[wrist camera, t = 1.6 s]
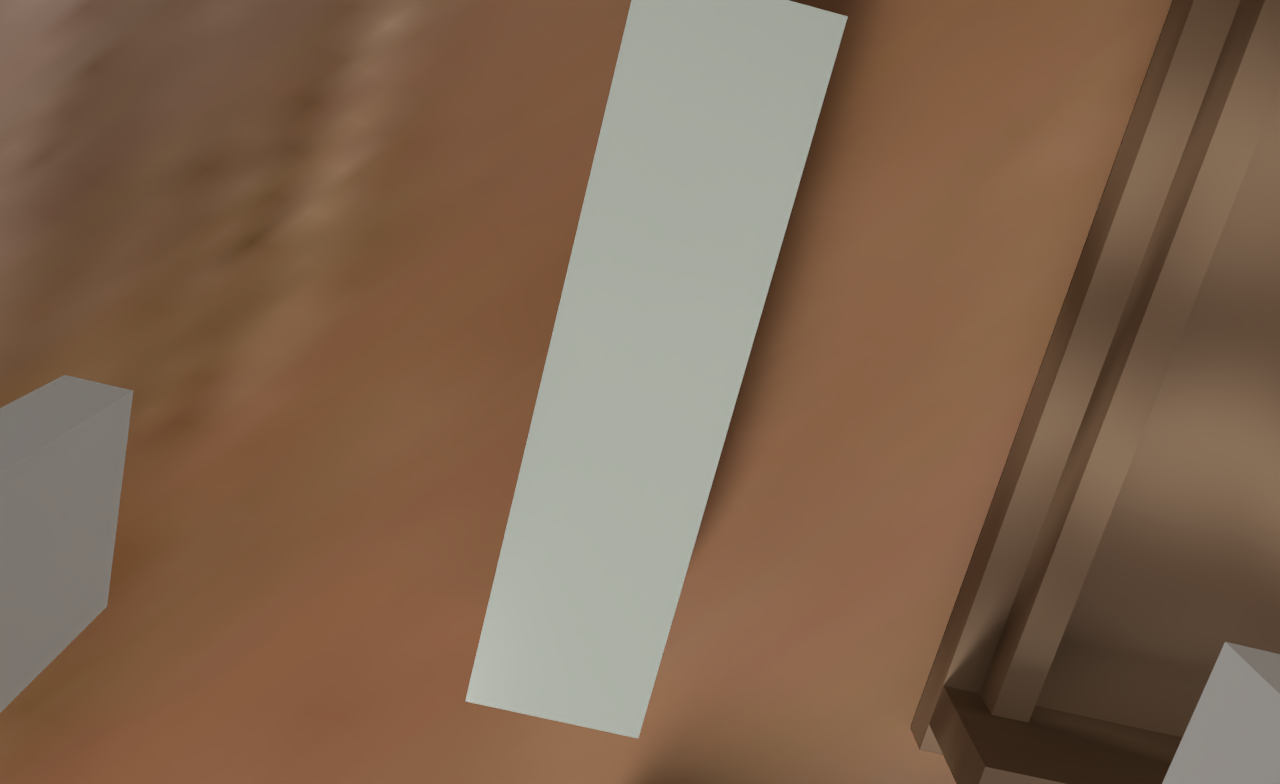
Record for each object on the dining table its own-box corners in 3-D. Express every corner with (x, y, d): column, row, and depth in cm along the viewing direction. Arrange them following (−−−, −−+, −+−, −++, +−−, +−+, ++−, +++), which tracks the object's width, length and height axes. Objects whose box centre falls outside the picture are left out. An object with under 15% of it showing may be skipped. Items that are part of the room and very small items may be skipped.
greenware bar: (492, 598, 29) (465, 701, 24) (638, -18, 25) (641, -41, 20) (636, 630, 29) (638, 738, 25) (806, 27, 25) (847, 16, 20)
